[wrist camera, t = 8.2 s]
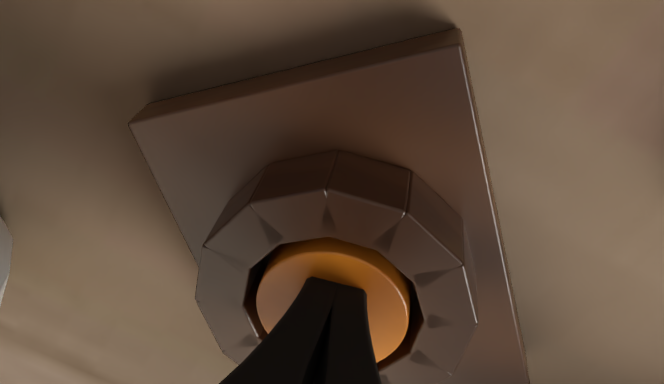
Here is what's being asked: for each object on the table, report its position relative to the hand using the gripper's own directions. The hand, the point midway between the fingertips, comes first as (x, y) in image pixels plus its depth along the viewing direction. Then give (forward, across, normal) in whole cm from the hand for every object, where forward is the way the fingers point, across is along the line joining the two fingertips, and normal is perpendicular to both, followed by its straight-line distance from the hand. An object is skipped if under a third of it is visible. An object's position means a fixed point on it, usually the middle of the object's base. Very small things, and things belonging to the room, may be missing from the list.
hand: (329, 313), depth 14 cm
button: (+2, 0, 0) cm, 2 cm away
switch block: (+3, 0, 0) cm, 3 cm away
